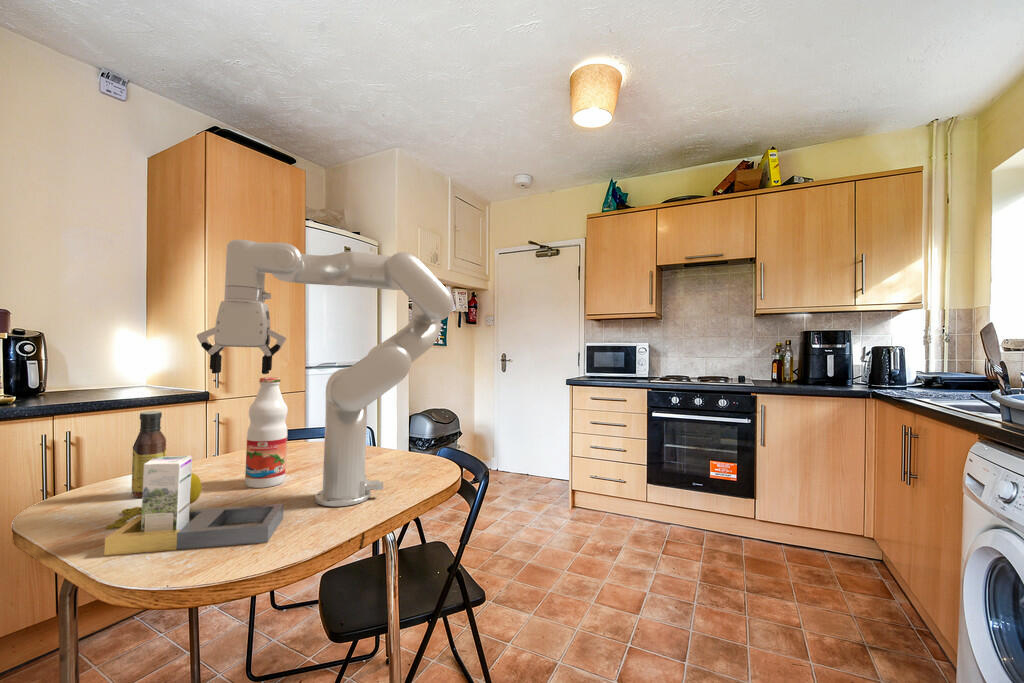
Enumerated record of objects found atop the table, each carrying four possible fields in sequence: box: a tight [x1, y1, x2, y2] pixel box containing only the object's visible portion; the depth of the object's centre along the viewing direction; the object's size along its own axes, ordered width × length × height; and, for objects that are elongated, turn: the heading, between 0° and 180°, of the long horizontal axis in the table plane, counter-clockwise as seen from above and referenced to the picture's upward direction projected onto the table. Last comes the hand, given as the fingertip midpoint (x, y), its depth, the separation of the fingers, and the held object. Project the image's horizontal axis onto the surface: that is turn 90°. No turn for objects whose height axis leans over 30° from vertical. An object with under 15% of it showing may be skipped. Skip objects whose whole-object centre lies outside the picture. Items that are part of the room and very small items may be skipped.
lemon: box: [190, 472, 202, 505], centre depth 96 cm, size 6×6×8 cm
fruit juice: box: [244, 377, 289, 489], centre depth 115 cm, size 9×9×28 cm
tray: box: [103, 503, 284, 557], centre depth 83 cm, size 25×12×3 cm, turn 106°
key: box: [105, 506, 142, 530], centre depth 90 cm, size 12×1×5 cm
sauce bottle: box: [131, 410, 167, 498], centre depth 103 cm, size 6×6×20 cm
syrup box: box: [141, 455, 193, 532], centre depth 81 cm, size 6×6×14 cm
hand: (241, 373), depth 96 cm, fingers open, 9 cm apart
